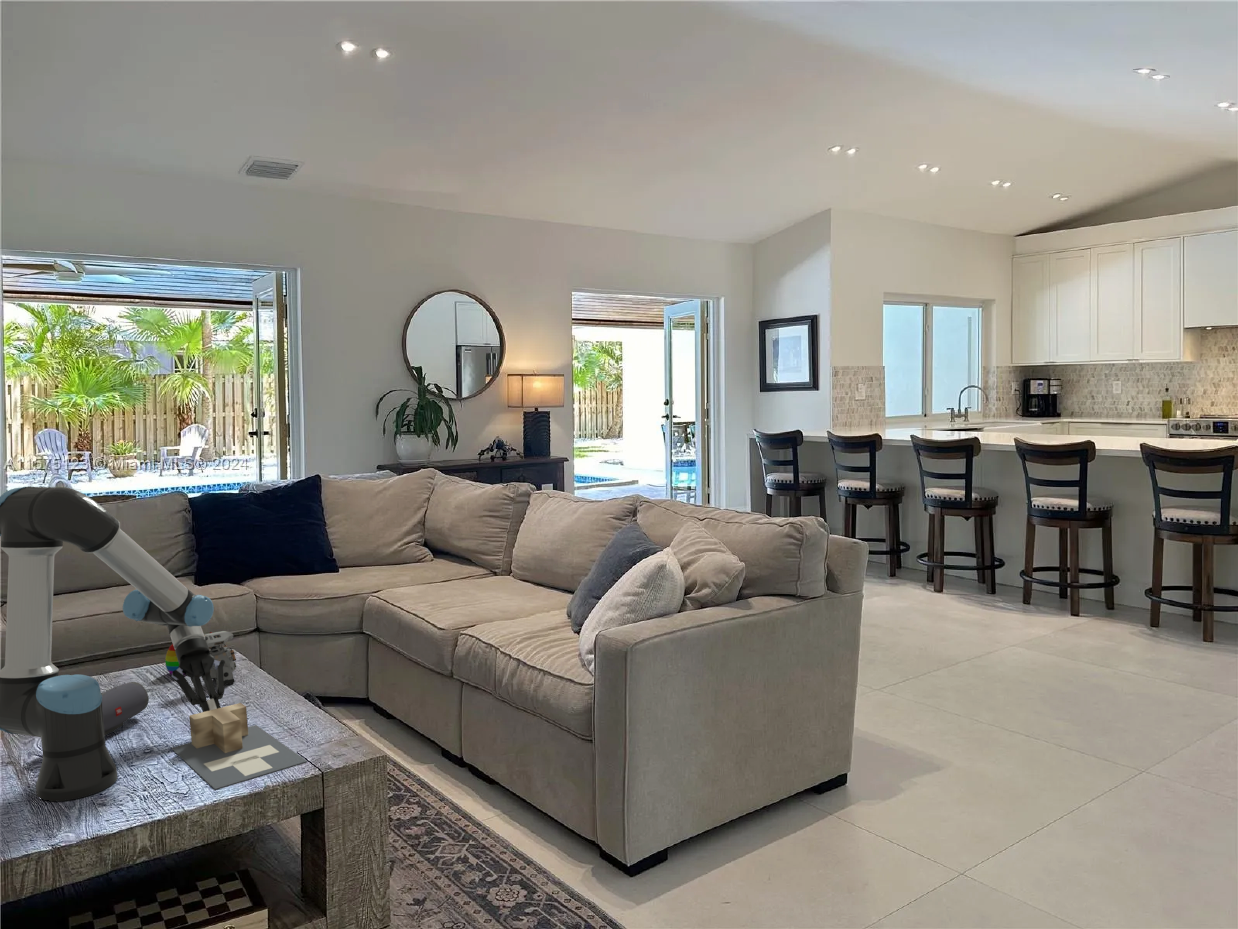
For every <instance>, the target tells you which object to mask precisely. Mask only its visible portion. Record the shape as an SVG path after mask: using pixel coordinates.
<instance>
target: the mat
mask: <svg viewBox="0 0 1238 929" xmlns="http://www.w3.org/2000/svg"><path fill="white" fill-rule="evenodd" d="M242 746H243V748H242V749H238V750H235V751H231V752H227V753H224V752H223V751H222V750H221V749H220V748H219V747H217V746H216V745H215V744H212V745H208V746H204V747H200V748H195V747H194V746H193V745H192V743H191V742H187V743H184V744H183V743H182V744H179V745H176V746H172V747H170V749H171V750H172V751H173V752H174V753H175V754H176V755H178V757H179V758H181V759H182V760H183V761H184V762H185V763H186V764H187V765H188V766H189V767H190V768H191V769H192V770H193V771H194V772H195V773H197V775H198V776H200V777H201V778H202V779H203V780H204V781H205V782H206V783H207V784H208V785H209V786H210V787H212V789H213V790H215V791H216V790H219V789H222V788H225V787H229V786H232V785H235V784H236V785H237V784H239V783H242V782H245V781H249V780H252V779H256V778H259V777H262V776H265V775H269V774H271V773H276V772H278V771H281V770H284V769H287V768H288V769H289V768H292V767H294V766H298V765H302V764H304V763H308V760H306V759H305V758H304V757H303V756H301V755H300V754H298V753H296V752H295V751H293V749H291V748H290V747H288V746H286V745H285V744H284V743H283V742H282V741H280V740H278V739H277V738H275V737H274V736H273V735H272V734H270V733H268V732H267V731H266V730H264V729H262V728H261V727H259V725H256V724H255V725H251V726H248V735H245V736H242Z"/></svg>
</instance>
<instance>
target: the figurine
mask: <svg viewBox="0 0 1238 929" xmlns="http://www.w3.org/2000/svg"><path fill="white" fill-rule="evenodd" d="M204 636H205V640H206V642H207V645H208V648H209V651H210V654H211V655H212V656H213V657H214V659H215V660H217V661H221V660H224V661H225V664H224V667H223V678H224V687H225V686H226V685H228V686H230V685H233V684H234V683H236V681H235V678H234V674H233V672H234V671H236V670H237V665H236V661H237V658H236V654H235V651H234V649H232V648H231V647H228V645H227V644H226V643H227V642H229V640H233V639H234V634H233V633H231V631H228V630H222V631H216V632H212V631H210V632H209V633H204ZM216 672H217V670H215V667H214V665H213V666H212V668H211V670H210V675H211V678H212V681H215V680H216Z"/></svg>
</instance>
